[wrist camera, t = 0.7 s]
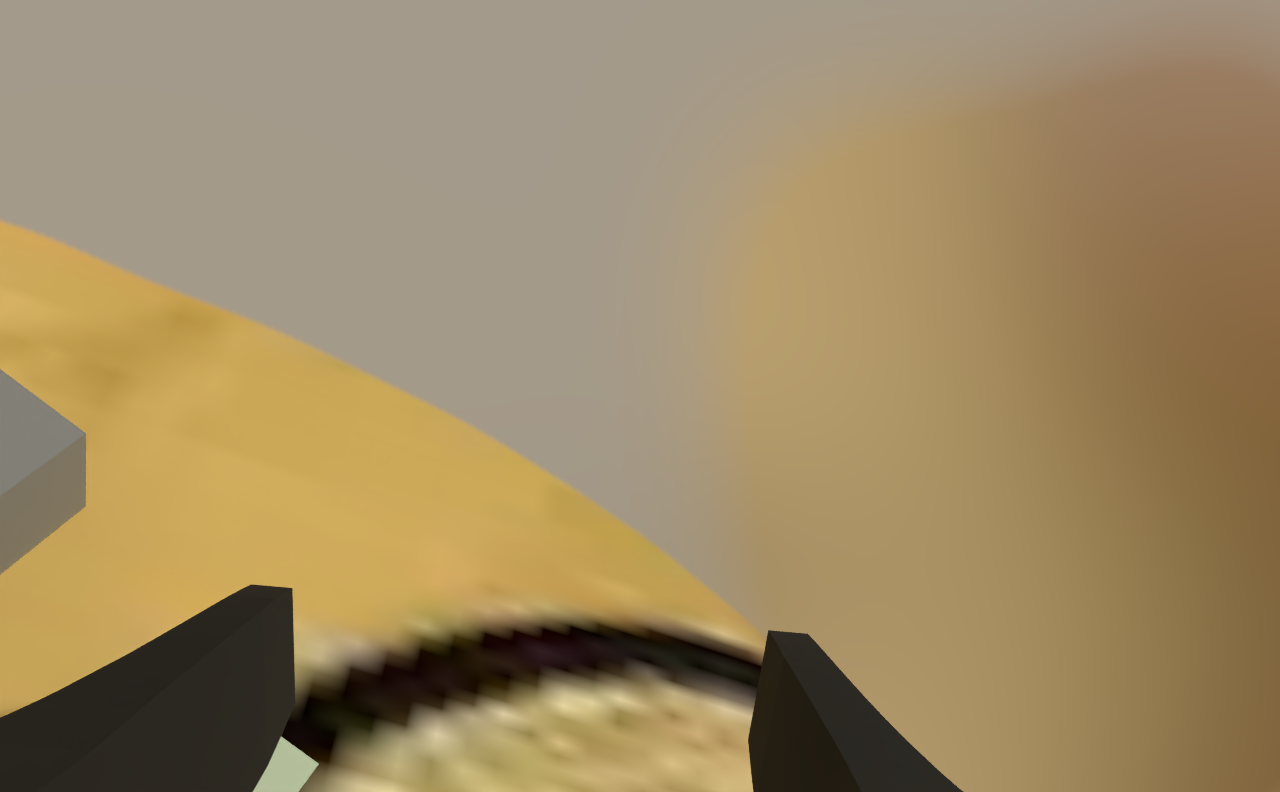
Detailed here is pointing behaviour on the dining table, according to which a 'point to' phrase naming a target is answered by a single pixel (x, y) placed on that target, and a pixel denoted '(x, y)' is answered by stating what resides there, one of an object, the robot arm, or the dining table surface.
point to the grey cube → (36, 470)
